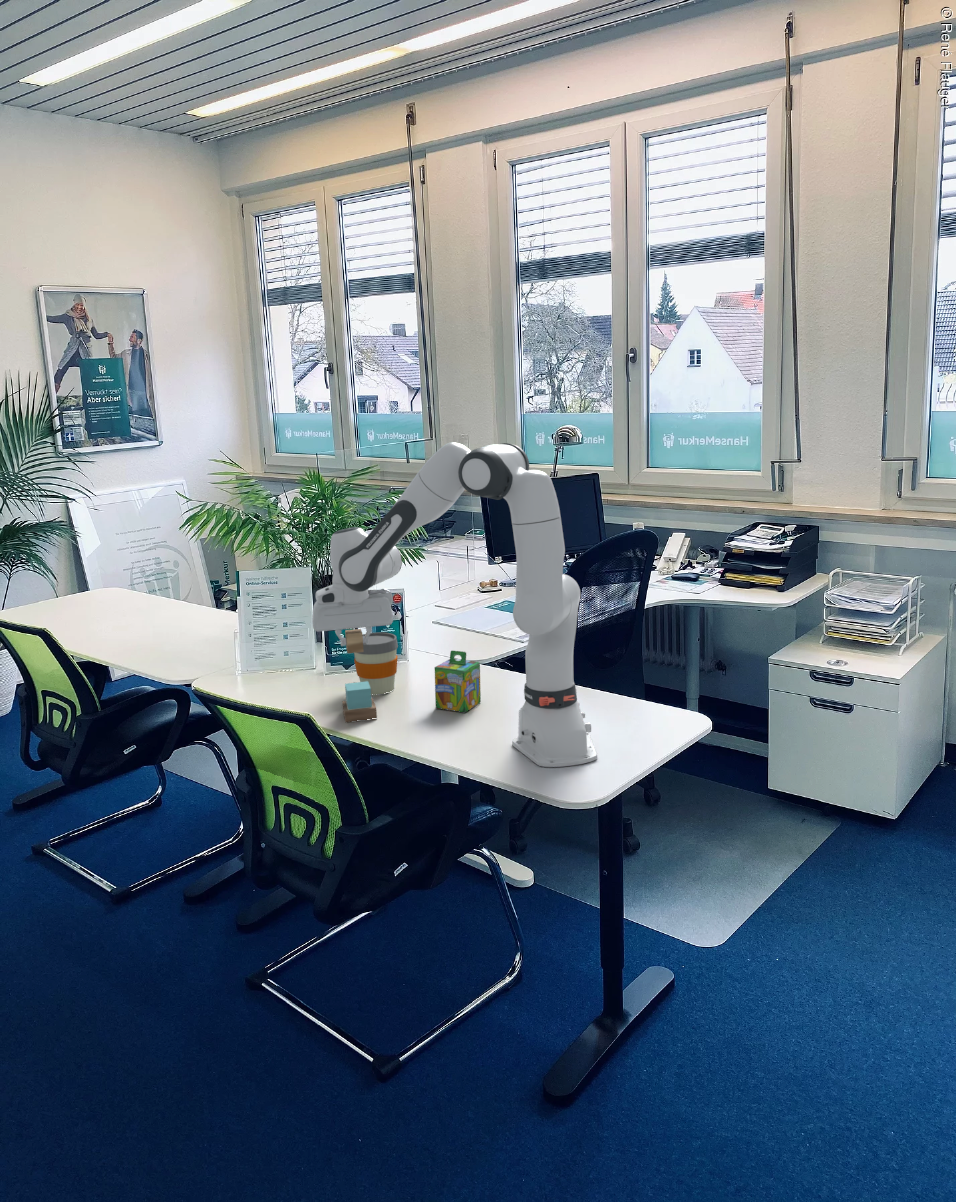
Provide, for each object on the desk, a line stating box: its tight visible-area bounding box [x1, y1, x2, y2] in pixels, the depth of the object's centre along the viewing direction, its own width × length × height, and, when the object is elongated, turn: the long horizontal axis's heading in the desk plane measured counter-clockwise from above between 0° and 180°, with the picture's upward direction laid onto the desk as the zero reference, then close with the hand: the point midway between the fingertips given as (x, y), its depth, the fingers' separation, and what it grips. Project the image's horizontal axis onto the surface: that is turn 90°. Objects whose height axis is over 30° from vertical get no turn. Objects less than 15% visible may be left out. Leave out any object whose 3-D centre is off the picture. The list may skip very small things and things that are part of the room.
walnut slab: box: [341, 697, 378, 723], centre depth 248 cm, size 8×8×3 cm
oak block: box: [344, 628, 364, 654], centre depth 244 cm, size 4×4×5 cm
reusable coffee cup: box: [353, 632, 399, 696], centre depth 266 cm, size 13×13×15 cm
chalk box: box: [434, 650, 482, 713], centre depth 251 cm, size 9×9×15 cm
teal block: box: [344, 681, 372, 710], centre depth 247 cm, size 6×6×5 cm
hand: (354, 644), depth 244 cm, fingers closed on oak block, 4 cm apart
